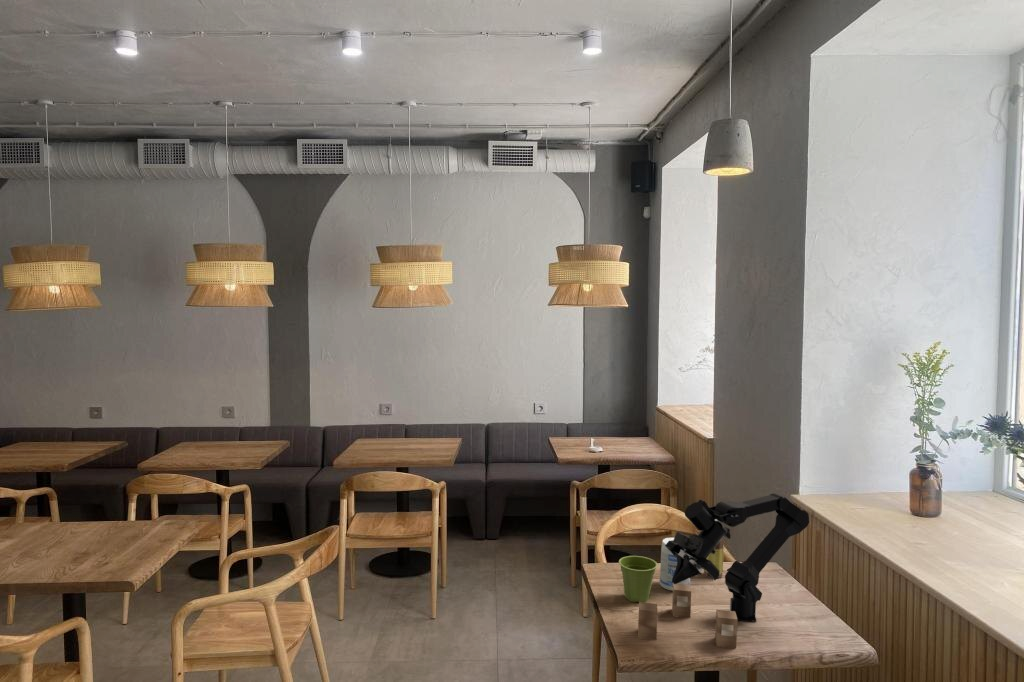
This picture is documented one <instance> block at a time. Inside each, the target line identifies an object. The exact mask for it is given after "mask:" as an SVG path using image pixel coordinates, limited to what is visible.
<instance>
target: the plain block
mask: <svg viewBox="0 0 1024 682" xmlns="http://www.w3.org/2000/svg"><path fill="white" fill-rule="evenodd" d="M637 619H638V621H637V639H644V640H653V641H656V640H658V639H657V637H658V636H657V633H658V603H652V602H638V618H637Z"/></svg>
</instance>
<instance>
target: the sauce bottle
mask: <svg viewBox="0 0 1024 682" xmlns="http://www.w3.org/2000/svg"><path fill="white" fill-rule="evenodd" d="M715 521H716V522H720V521H718V520H716V519H715ZM720 523H721V524H722V522H720ZM724 548H725V547H724V537H723V538H722V539H721V540H720V542H719V543H718V544H717V545H716V547H715V548H714V550H715V551H716V552H715V553H714V554H712V553H710V554H709V556H708V557H707V558H706V559H708V560H710V561H711V562H712V563H713V564H714V565H715V566H716V567H717V569H718V570H719V571H720V572H719V576H718V578H717V579H720V578H723V572H724ZM703 573H704V576H705V577H708V578H710V577H709V576H708V572H707V571H706V570H704V569H703Z"/></svg>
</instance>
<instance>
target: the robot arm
mask: <svg viewBox="0 0 1024 682" xmlns="http://www.w3.org/2000/svg"><path fill="white" fill-rule="evenodd" d="M771 512H775V513H776V516H775V522H774V527H773V528H772V529H771V530H770V531H769V533H768V534H767V535H766V536H765V537H764V538H763V540H762V541H761V542H760V543H759V544H758V546H757V547H756V548H755V549H754V551H752V553H750V555H749V556H748V557H747V558H746V560H744V561H743V562H739V561H738V560H735V561H733V563H732V564H731V566H730V567H729V568H727V569H726V571H727V572H726V573H725V575H724V582H725V583H724V584H725V586H726V587H727V590H728V592H729V593H731V594H732V597H730V600H729V602H730V603H729V604H730V605H729V611H735V612H736V616H737V619H738V620H737V621H745V622H754V623H755V622H757V617H756V609H757V608H756V606H757V605H756V604H757V602H758V601H761V598H762V597H763V592H762V591H761V590H760V589H759V588H758V587H757V585H758V584H759V579H760V574H761V571H763V570H764V568H765V567H766V566H767V565H768V563H769V562H770V561H771V560H772V559H773V557H774V556H775V555H776V554H777V553H778V551H779V550H780V549H781V548H782V546H784V544H785V543H786V542H787V541H788V539H790V538H791V537H793V536H796V535H799V534H800V533H802V532H803V530H805V529H806V528H807V527H808V526H809V524H810V515H809V513H808V511H806V510H804V509H801V508H800V507H798V506H797V505H795V504H794V503H792V502H791V500H789V499H788V498H787V497H786V496H784V495H781V494H778V493H770V494H769V495H766V496H761V497H756V498H753V499H748V500H745V501H742V502H741V501H738V502H737V501H719V502H717V503H716V504H715V505H713V506H709V505H708V503H707V502H706V500H703V499H699V500H698V501H696V502H692V503H691V504H689V505H688V506H686V508H685V510H684V516H685V517H686V519H687V520H688V521H689V522H690V523H691V524H692V525H693V527H694V528H695V529H696V530H697V531H699V532H698V534H695V533H693V534H692V535H690V536H689V535H687V534H684V533H682V532H680V531H676V533H675V535H674V537H673V538H674V540H671V541H668V543H667V544H666V545H665V547H666V548H667V549H668V550H669V551H670V552H671V553H672V554H673V555H674V556H675V557H676V558H677V566H676V570H675V573H674V576H673V578H672V582H673V583H674V584H677V583H679V582H682V581H684V580H686V579H688V578H690V579H691V578H693V577H696V576H701V575H702V570H703V571H704V570H706V571H707V572H708V576H709V577H708V578H710V579H712V580H714V581H716V580H717V579H719V578H718V576H719V572H720V571H719V570H718V569H717V567H716V566H715V565H714V564H713V563H712V562H711V561H710V560H708V559H706V558H707V557H708V556H709V554H710V553H712V554H714V553H715V552H716V551H715V550H714V548H715V547H716V545H717V544H718V543H719V542H720V540H721V539H722V538H723V539H724V537H725V538H726V539H728V540H730V539H731V536H732V535H731V529H730V528H728V527H726V526H729V527H731V528H734V527H737V526H740V525H742V524H744V523H745V522H746V520H747V519H749V518H753V517H756V516H760V515H764V514H768V513H771ZM715 519H716V520H718V521H720V522H721V523H720V522H716V521H715ZM723 524H724V525H726V526H724V525H723ZM684 549H685V550H686V551H685V550H684ZM689 557H690V558H689Z"/></svg>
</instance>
